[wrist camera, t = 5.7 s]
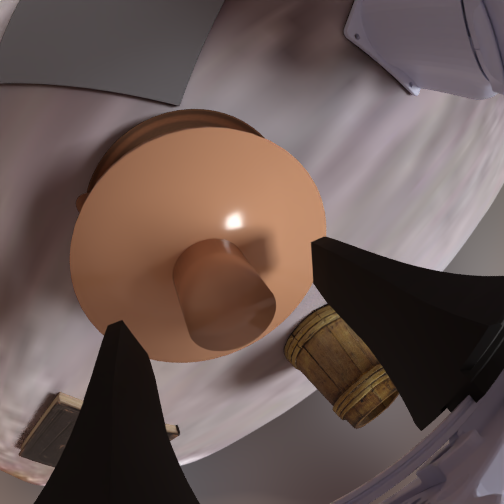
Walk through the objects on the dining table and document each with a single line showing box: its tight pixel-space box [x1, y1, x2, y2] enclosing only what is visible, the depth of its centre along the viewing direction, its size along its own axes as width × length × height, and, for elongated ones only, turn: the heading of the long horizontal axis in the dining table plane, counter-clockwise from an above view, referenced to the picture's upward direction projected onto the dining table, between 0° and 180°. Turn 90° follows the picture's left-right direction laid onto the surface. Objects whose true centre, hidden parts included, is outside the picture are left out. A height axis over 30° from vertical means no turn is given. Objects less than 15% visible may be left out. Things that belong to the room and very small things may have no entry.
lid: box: [70, 126, 326, 363], centre depth 10 cm, size 11×11×4 cm
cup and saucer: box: [76, 109, 265, 212], centre depth 14 cm, size 12×12×6 cm
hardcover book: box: [19, 392, 180, 467], centre depth 24 cm, size 16×23×2 cm
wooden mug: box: [284, 305, 399, 429], centre depth 22 cm, size 9×14×18 cm, turn 122°
